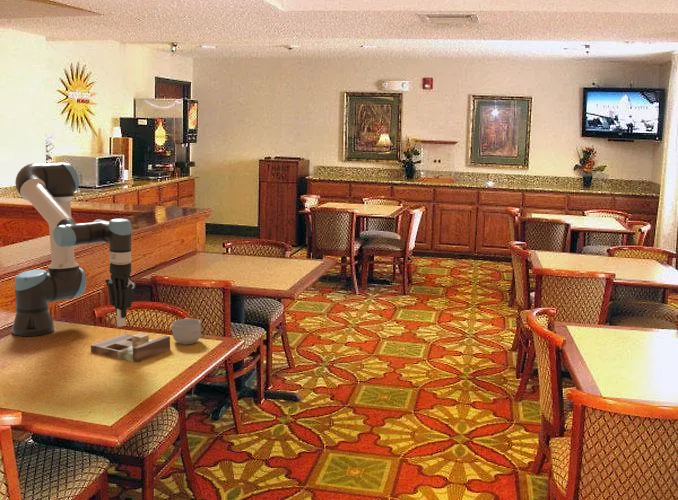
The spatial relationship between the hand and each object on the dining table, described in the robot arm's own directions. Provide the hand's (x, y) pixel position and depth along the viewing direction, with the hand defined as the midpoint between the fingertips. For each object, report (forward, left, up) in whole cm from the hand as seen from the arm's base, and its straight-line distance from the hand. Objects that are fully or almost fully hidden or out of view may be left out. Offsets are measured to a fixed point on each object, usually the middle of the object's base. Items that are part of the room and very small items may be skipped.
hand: (121, 325), depth 274 cm
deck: (+5, -1, -8) cm, 10 cm away
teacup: (+15, +19, -9) cm, 26 cm away
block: (+10, -1, -6) cm, 11 cm away
